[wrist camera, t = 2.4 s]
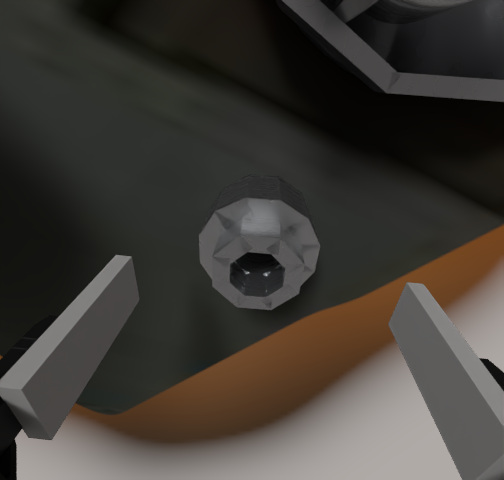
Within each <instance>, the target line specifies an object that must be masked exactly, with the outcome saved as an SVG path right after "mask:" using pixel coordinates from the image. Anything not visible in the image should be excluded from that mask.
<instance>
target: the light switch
mask: <svg viewBox="0 0 504 480" xmlns="http://www.w3.org/2000/svg"><path fill="white" fill-rule="evenodd" d="M377 1H378V0H343V2H342V3H341V4H340V5H339V6H338V7H337V8H336V9H335V10H334V14H335V15H336V16H337V17H338V18H339V19H340V20H341V21H342V22H344V23H347V22H348V21H350V20H351V19H353V18H354V17H356V16H357V15H359V14H360V13H362V12H363V11H365V10H366V9H367V8H369V7H370V6H372V5H373V4H374V3H376V2H377Z"/></svg>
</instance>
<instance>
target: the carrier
mask: <svg viewBox="0 0 504 480" xmlns="http://www.w3.org/2000/svg"><path fill="white" fill-rule="evenodd" d="M276 2H277V5H278V8H279V9H280V10H282V11H283V12H284V13H285V14H286V15H287V16H288V17H290V18H291V19H292V20H293V21H294V22H295V24H296V25H297V26H298V28H299V29H300V30H301V32H302V33H303V34H304V35H305V36H306V37H307V38H308V39H309V40H310V41H311V42H312V43H313V44H314V45H315V46H316V47H317V48H318V49H319V50H320V51H321V53H322V54H323V55H325V56H326V57H327V58H329V59H330V60H332V61H333V62H334V63H336V64H337V65H338V66H340V67H341V68H342V69H344V70H345V71H347V72H349V73H351V74H353V75H355V76H357V77H358V78H359V79H361V80H362V81H363V82H364V83H365V84H366V85H367V86H369V87H370V88H371V89H372V90H373V91H374V92H380V93H391V94H405V95H418V96H432V97H445V98H459V99H472V100H486V101H499V102H504V0H378V1H377V2H376V3H374V4H373V5H372V6H370V7H369V8H367V9H366V10H365V11H363V12H362V13H360V14H359V15H357V16H356V17H354V18H353V19H351V20H350V21H348V22H347V23H344V22H342V21H341V20H340V19H339V18H338V17H337V16H336V15H335V14H334V10H335V9H336V8H337V7H338V6H339V5H340V4H341V3H342V2H343V0H276Z"/></svg>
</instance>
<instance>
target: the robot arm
mask: <svg viewBox="0 0 504 480" xmlns="http://www.w3.org/2000/svg"><path fill="white" fill-rule="evenodd" d="M139 300H140V299H139V294H138V288H137V283H136V277H135V272H134V267H133V261H132V256H121V255H116V256H115V257H114V258H113V259H112V260H111V261H110V262H109V263H108V264H107V265H106V266H105V267H104V269H103V270H102V271H101V272H100V273H99V274H98V275H97V276H96V277H95V278H94V279H93V280H92V281H91V283H90V284H89V285H88V286H87V287H86V288H85V289H84V290H83V291H82V292H81V293H80V294H79V295H78V297H77V298H76V299H75V300H74V301H73V302H72V303H71V304H70V305H69V306H68V307H67V308H66V309H65V311H64V312H63V313H62V314H61V315H60V316H48V317H47V318H45V319H44V320H42V321H40V322H39V323H37V324H36V325H34V326H33V327H32V328H31V329H30V330H29V331H28V332H27V333H26V334H25V335H24V336H23V339H20V340H19V341H18V342H17V343H16V344H15V345H14V346H13V349H10V350H9V351H8V352H7V354H6V355H5V356H4V357H3V358H2V359H1V360H0V480H17V477H16V442H15V437H16V436H17V434H18V433H19V432H20V430H21V429H23V430H24V432H25V433H26V434H27V436H28V437H29V438H37V439H45V440H52V439H53V437H54V436H55V434H56V432H57V431H58V429H59V428H60V426H61V424H62V423H63V421H64V420H65V418H66V416H67V415H68V413H69V412H70V410H71V408H72V407H73V405H74V404H75V402H76V401H77V399H78V397H79V396H80V394H81V393H82V391H83V389H84V388H85V386H86V385H87V383H88V381H89V380H90V378H91V377H92V375H93V373H94V372H95V370H96V369H97V367H98V365H99V364H100V362H101V361H102V359H103V357H104V356H105V354H106V353H107V351H108V349H109V348H110V346H111V345H112V343H113V341H114V340H115V338H116V337H117V335H118V333H119V332H120V330H121V329H122V327H123V325H124V324H125V322H126V321H127V319H128V317H129V316H130V314H131V313H132V311H133V309H134V308H135V306H136V305H137V303H138V301H139ZM388 325H389V327H390V329H391V331H392V333H393V335H394V337H395V339H396V342H397V344H398V346H399V348H400V350H401V352H402V354H403V356H404V358H405V360H406V362H407V364H408V367H409V369H410V371H411V373H412V375H413V377H414V379H415V381H416V383H417V386H418V387H419V390H420V392H421V394H422V396H423V398H424V400H425V402H426V404H427V407H428V409H429V411H430V413H431V415H432V417H433V419H434V421H435V423H436V425H437V428H438V429H439V432H440V434H441V436H442V438H443V440H444V442H445V444H446V446H447V449H448V451H449V452H450V455H451V457H452V459H453V461H454V463H455V465H456V467H457V469H458V472H459V474H460V476H461V478H462V480H504V373H503V372H502V371H501V370H500V369H499V368H498V367H496V366H495V365H494V364H493V363H492V362H490V361H489V360H488V359H480V358H478V357H477V355H476V354H475V353H474V351H473V350H472V349H471V347H470V346H469V345H468V343H467V342H466V340H465V339H464V338H463V337H462V335H461V334H460V332H459V331H458V330H457V329H456V327H455V326H454V324H453V323H452V322H451V320H450V319H449V318H448V316H447V315H446V314H445V312H444V311H443V310H442V308H441V307H440V306H439V305H438V303H437V302H436V300H435V299H434V298H433V296H432V295H431V294H430V293H429V291H428V290H427V288H426V287H425V286H424V284H418V283H408V282H407V283H406V285H405V287H404V290H403V292H402V294H401V297H400V299H399V301H398V303H397V305H396V308H395V310H394V312H393V315H392V317H391V319H390V322H389V324H388Z"/></svg>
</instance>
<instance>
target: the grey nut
mask: <svg viewBox="0 0 504 480" xmlns="http://www.w3.org/2000/svg"><path fill="white" fill-rule="evenodd" d="M199 248H200V263H201V264H202V266H203V267H204V269H205V270H206V272H207V273H208V274H209V276H210V277H211V279H212V285H213V287H214V288H215V289H216V290H217V291H218V292H220V293H221V294H222V295H223V296H224V297H226V298H227V299H228V300H229V301H230V302H231V303H233V304H234V305H235V306H236V307H241V308H252V309H264V310H272V309H274V308H275V307H277V306H279V305H281V304H282V303H284V302H286V301H287V300H289V299H291V298H292V297H294V296H296V295H298V294H299V291H300V286H301V285H302V284H303V283H304V282H305V281H306V280H307V279H308V278H309V277H310V276H311V275H312V274H313V273H314V272H315V267H316V263H317V258H318V254H319V249H320V242H319V239H318V236H317V233H316V230H315V226H314V223H313V220H312V217H311V215H310V212H309V210H308V208H307V205H306V203H305V200H304V198H303V196H302V193H301V192H300V191H298V190H297V189H296V188H294V187H293V186H291V185H290V184H288V183H287V182H285V181H284V180H282V179H281V178H280V177H275V176H262V175H251V174H250V175H248V176H246V177H244V178H242V179H240V180H238V181H235V182H233V183H231V184H229V185H227V186H225V187H224V189H223V191H222V192H221V194H220V195H219V197H218V198H217V200H216V202H215V203H214V205H213V206H212V207H211V210H210V212H209V214H208V216H207V219H206V221H205V223H204V225H203V227H202V230H201V232H200V234H199Z"/></svg>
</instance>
